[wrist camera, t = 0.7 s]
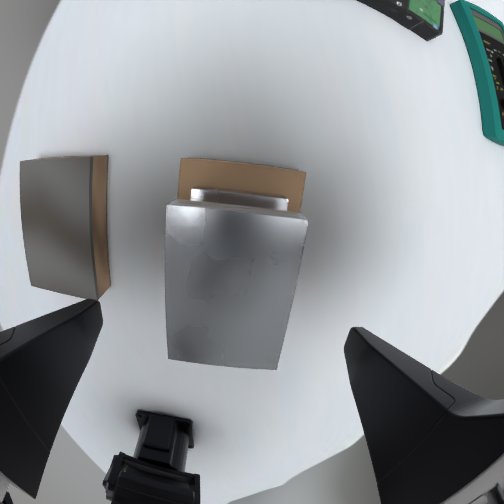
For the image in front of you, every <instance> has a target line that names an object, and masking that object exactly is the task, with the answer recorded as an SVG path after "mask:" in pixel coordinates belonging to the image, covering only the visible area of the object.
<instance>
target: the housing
mask: <svg viewBox="0 0 504 504" xmlns="http://www.w3.org/2000/svg"><path fill="white" fill-rule="evenodd" d="M287 205H288V199H287V198H286V197H285V196H282V195H274V194H267V193H259V192H250V191H242V190H232V189H223V188H213V187H202V186H195V187H193V188H192V189H191V200H181V199H175V200H173V201H172V202H170V203H169V204H167V209H166V233H165V306H166V331H167V348H168V359H172V360H179V361H185V362H193V363H200V364H208V365H217V366H227V367H238V368H251V369H268V370H276V369H277V365H278V361H279V357H280V353H281V349H282V345H283V341H284V337H285V333H286V328H287V324H288V320H289V315H290V311H291V306H292V302H293V297H294V292H295V288H296V283H297V278H298V273H299V268H300V263H301V258H302V253H303V248H304V243H305V237H306V232H307V226H308V219H307V218H306V217H305V216H304V215H303V214H302V213H298V212H290V211H287Z"/></svg>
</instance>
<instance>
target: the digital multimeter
mask: <svg viewBox="0 0 504 504" xmlns="http://www.w3.org/2000/svg"><path fill="white" fill-rule="evenodd" d="M451 8H452V11H453V13H454V15H455V18H456V20H457V23H458V25H459V27H460V30H461V33H462V35H463V38H464V40H465V43H466V47H467V50H468V53H469V56H470V60H471V63H472V67H473V71H474V75H475V80H476V85H477V90H478V95H479V101H480V108H481V117H482V127H483V134H484V136H485V137H486V138H488V139H490V140H492V141H493V142H495V143H497V144H500V145H504V25H503V23H502V22H501V21H500V20H498V19H497V18H496V17H494V16H493V15H491V14H490V13H488V12H487V11H485V10H484V9H482V8H480V7H478V6H476V5H474V4H472V3H470V2H467V1H465V0H458V1H456V2H454V3H452V4H451Z"/></svg>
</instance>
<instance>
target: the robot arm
mask: <svg viewBox="0 0 504 504" xmlns="http://www.w3.org/2000/svg"><path fill="white" fill-rule="evenodd" d="M102 325H103V318H102V312H101V305H100V302H99V301H98V300H94V299H86V300H84V301H81V302H78V303H76V304H73V305H70V306H68V307H65V308H62V309H60V310H57V311H54V312H52V313H49V314H46V315H44V316H41V317H38V318H36V319H33V320H31V321H28V322H25V323H23V324H20V325H18V326H16V327H12V328H10V329H7V330H4V331H2V332H0V504H13V502H12V499H11V497H10V494H9V493H8V492H7V489H8V486H9V484H10V483H11V484H12V485H13V486H15V487H17V488H18V489H20V490H21V491H23V492H24V493H26V494H27V495H29V496H30V497H32V498H34V499H35V498H36V496H37V493H38V489H39V485H40V482H41V478H42V475H43V472H44V469H45V466H46V463H47V460H48V457H49V454H50V450H51V448H52V445H53V442H54V440H55V437H56V434H57V432H58V429H59V427H60V424H61V422H62V419H63V417H64V414H65V412H66V409H67V407H68V405H69V402H70V400H71V398H72V396H73V393H74V391H75V389H76V387H77V384H78V382H79V380H80V378H81V376H82V374H83V372H84V370H85V368H86V366H87V363H88V361H89V359H90V357H91V354H92V352H93V349H94V346H95V344H96V341H97V338H98V336H99V333H100V331H101V328H102ZM344 354H345V359H346V364H347V369H348V375H349V380H350V385H351V389H352V392H353V395H354V399H355V402H356V406H357V409H358V412H359V416H360V419H361V423H362V427H363V430H364V434H365V438H366V441H367V445H368V449H369V453H370V457H371V461H372V465H373V469H374V473H375V477H376V482H377V487H378V491H379V496H380V500H381V504H504V399H502V400H490V399H486V398H483V397H481V396H479V395H477V394H475V393H473V392H471V391H469V390H467V389H465V388H463V387H461V386H459V385H457V384H456V383H454V382H452V381H450V380H448V379H447V378H445V377H443V376H441V375H440V374H438V373H436V372H435V371H433V370H431V369H430V368H428V367H426V366H425V365H423V364H422V363H420V362H418V361H417V360H415V359H413V358H412V357H410V356H408V355H407V354H405V353H404V352H402V351H400V350H399V349H397V348H395V347H394V346H392V345H391V344H389V343H387V342H386V341H384V340H382V339H381V338H379V337H377V336H376V335H374V334H373V333H371V332H369V331H368V330H366V329H365V328H363V327H352V328H351V329H350V331H349V334H348V337H347V340H346V342H345V345H344ZM136 417H137V421H138V424H139V427H140V430H141V432H140V435H139V439H138V442H137V445H136V449H135V453H134V456H133V457H131V456H129V455H126V454H125V453H123V452H120V453H119V455H114V457H113V460H112V463H111V466H110V468H109V470H108V472H107V474H106V476H105V478H104V480H103V486H104V488H105V489H106V493H107V494H106V499H107V500H110V501H112V502H111V504H200V475H199V474H191V473H186V472H185V465H186V458H187V451H188V448H194V437H193V422H192V421H190V420H186V419H180V418H174V417H168V416H163V415H157V414H152V413H148V412H143V411H137V412H136ZM124 471H125V472H124Z"/></svg>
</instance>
